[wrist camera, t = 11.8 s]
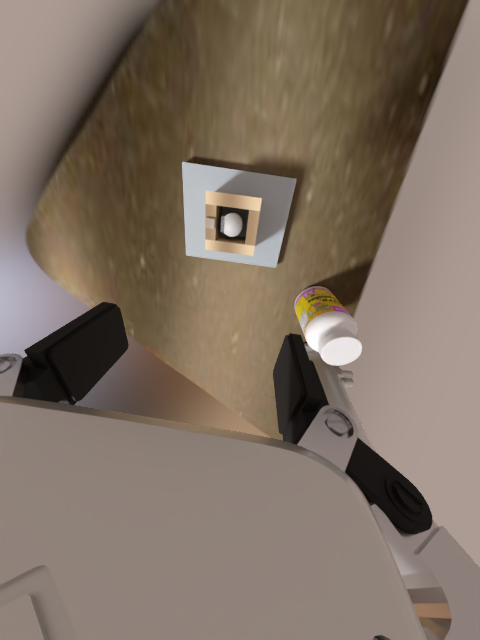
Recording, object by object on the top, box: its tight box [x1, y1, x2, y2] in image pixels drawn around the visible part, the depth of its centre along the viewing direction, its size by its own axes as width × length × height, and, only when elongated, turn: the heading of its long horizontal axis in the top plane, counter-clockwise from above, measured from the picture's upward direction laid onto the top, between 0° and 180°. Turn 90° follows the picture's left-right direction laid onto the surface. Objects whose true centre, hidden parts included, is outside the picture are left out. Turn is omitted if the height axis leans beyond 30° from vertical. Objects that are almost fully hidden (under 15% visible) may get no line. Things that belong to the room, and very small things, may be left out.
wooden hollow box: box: [205, 191, 262, 256], centre depth 23 cm, size 6×6×5 cm
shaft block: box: [182, 162, 297, 268], centre depth 23 cm, size 14×11×6 cm
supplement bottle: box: [295, 286, 362, 366], centre depth 27 cm, size 7×7×13 cm
